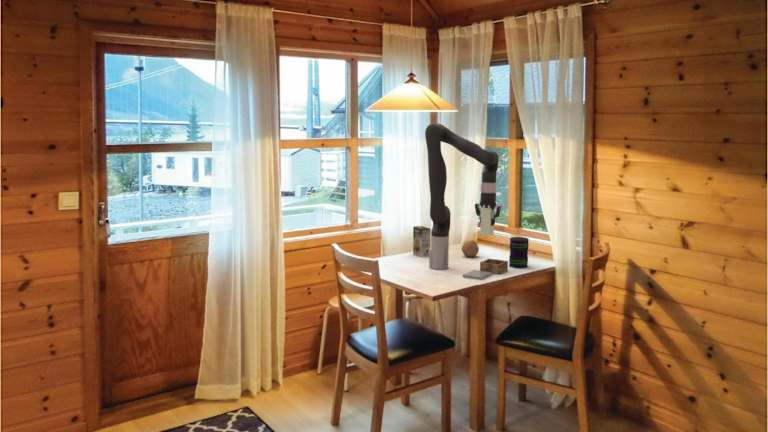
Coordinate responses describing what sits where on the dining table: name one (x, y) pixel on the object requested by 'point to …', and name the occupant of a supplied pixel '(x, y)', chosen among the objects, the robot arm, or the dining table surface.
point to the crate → (494, 266)
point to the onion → (470, 249)
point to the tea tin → (486, 222)
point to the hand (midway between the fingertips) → (487, 224)
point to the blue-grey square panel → (477, 274)
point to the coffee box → (421, 241)
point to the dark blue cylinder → (518, 252)
